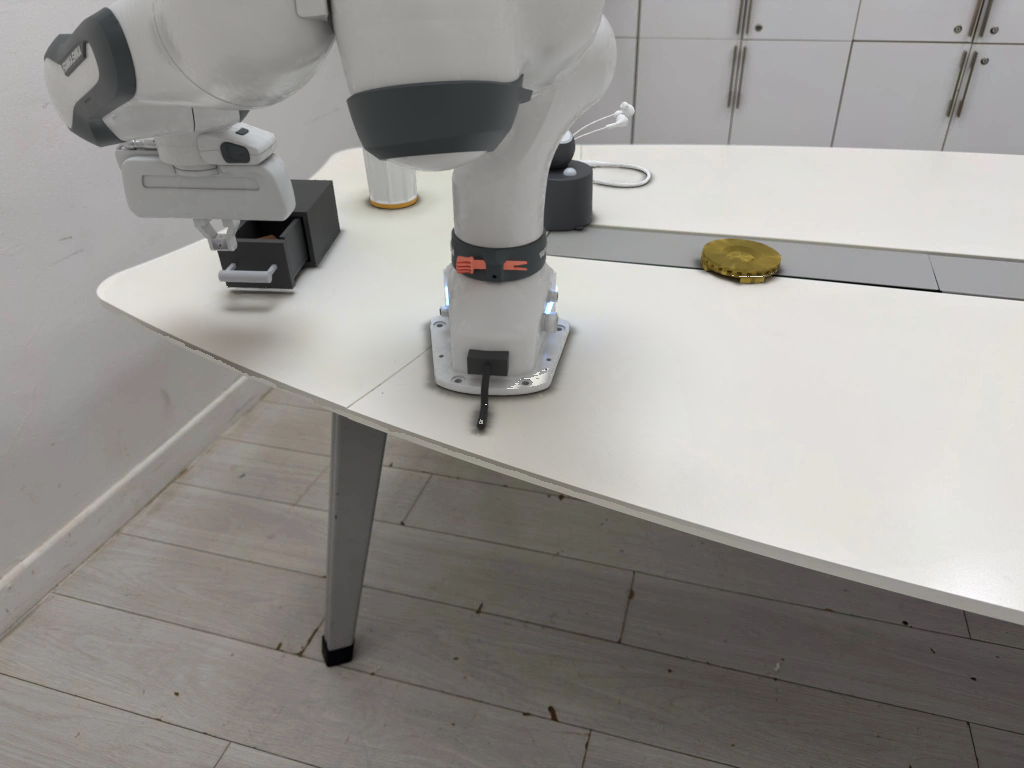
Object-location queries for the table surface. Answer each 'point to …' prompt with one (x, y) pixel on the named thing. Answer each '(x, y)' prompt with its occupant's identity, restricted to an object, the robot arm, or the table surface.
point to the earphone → (620, 121)
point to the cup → (389, 183)
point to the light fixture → (568, 190)
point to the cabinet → (316, 215)
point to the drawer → (265, 254)
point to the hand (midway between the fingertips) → (224, 249)
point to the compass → (740, 259)
